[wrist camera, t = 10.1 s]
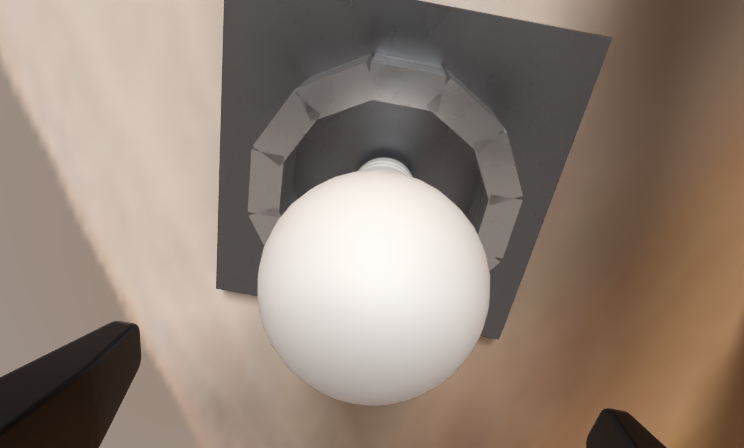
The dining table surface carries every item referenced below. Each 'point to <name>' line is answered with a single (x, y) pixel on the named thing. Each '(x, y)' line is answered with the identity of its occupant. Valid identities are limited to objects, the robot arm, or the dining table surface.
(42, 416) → the robot arm
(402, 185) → the lightbulb
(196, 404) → the dining table surface
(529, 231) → the bulb socket
